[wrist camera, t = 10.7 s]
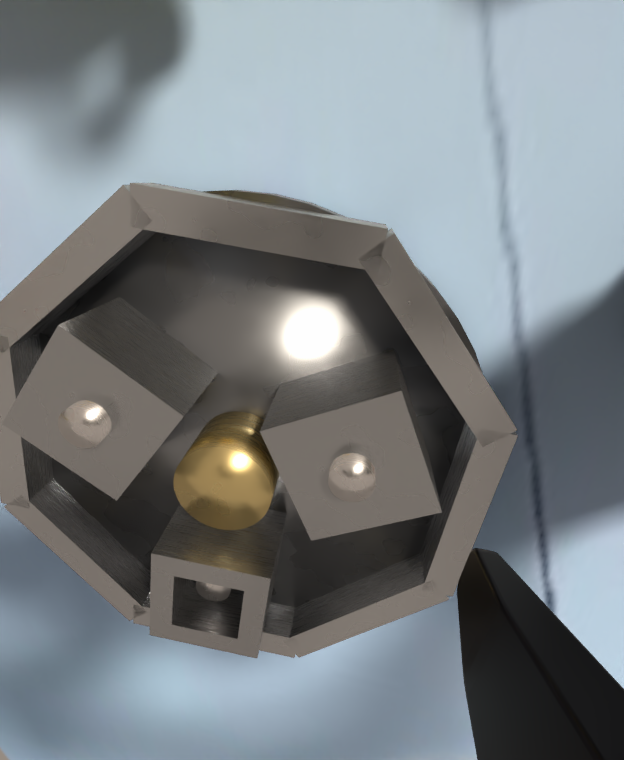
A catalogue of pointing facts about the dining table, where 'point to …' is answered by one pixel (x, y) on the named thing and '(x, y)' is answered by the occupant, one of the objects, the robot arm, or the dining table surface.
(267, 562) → the square pipe segment
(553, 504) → the dining table surface
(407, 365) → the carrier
